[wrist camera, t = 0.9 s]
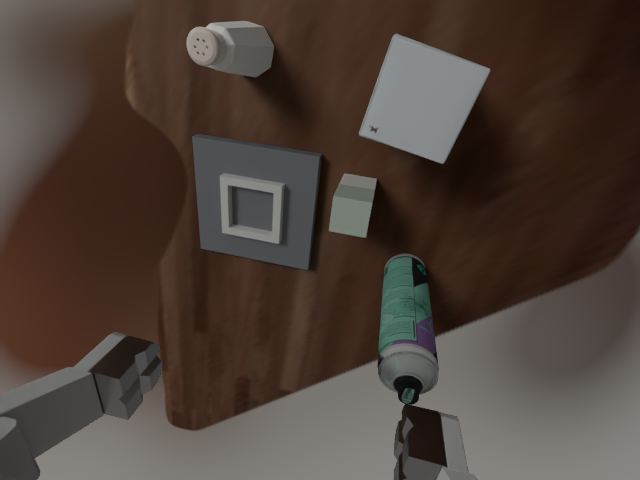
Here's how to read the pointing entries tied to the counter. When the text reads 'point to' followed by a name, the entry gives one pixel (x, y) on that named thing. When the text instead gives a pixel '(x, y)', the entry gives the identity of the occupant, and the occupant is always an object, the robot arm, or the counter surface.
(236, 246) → the square peg socket board
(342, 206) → the block stack
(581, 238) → the counter surface
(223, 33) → the pepper shaker
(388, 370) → the spray can
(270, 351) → the counter surface
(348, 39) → the counter surface
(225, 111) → the counter surface
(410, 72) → the supplement box
